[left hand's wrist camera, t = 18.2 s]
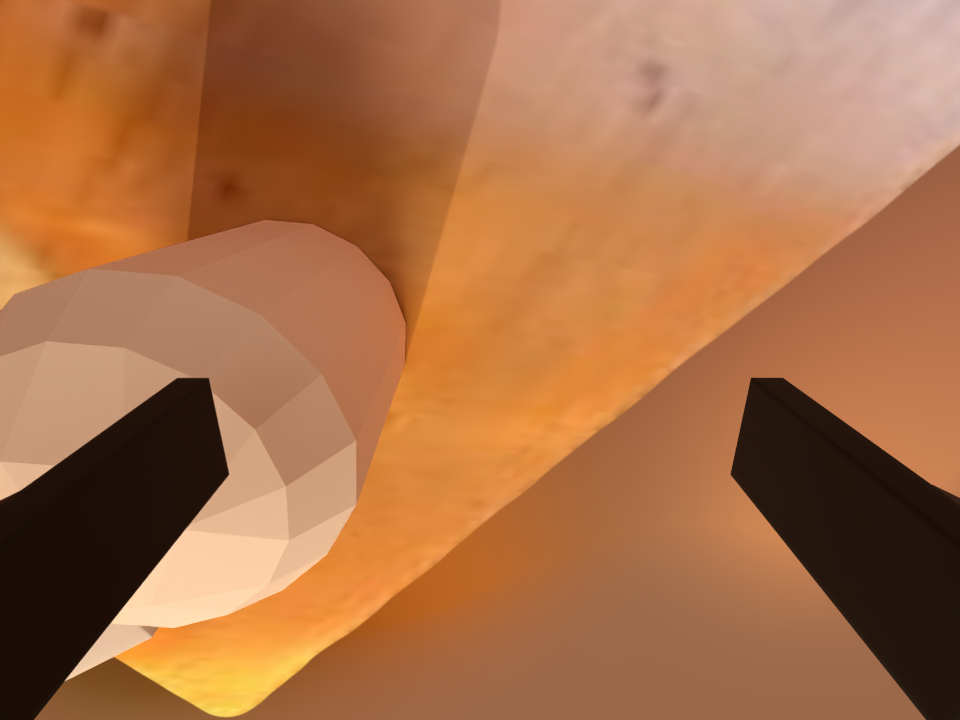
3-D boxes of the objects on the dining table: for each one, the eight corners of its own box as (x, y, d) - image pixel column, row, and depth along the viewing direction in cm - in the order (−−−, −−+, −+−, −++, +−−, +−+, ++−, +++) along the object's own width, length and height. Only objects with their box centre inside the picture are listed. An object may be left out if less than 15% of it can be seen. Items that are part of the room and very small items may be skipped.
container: (424, 423, 50) (365, 705, 24) (216, 444, 51) (-57, 737, 25) (388, 205, 43) (245, 276, 17) (144, 233, 44) (-353, 342, 18)
